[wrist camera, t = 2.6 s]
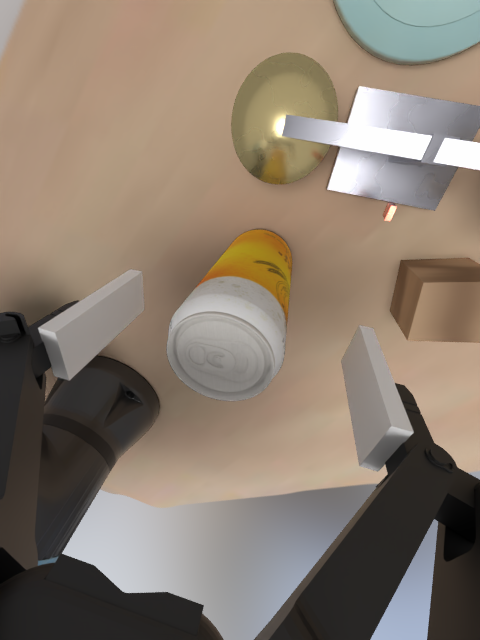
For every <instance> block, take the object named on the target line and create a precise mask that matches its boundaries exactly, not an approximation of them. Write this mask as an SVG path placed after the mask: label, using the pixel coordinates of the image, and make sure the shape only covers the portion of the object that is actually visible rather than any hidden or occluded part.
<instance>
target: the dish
mask: <svg viewBox="0 0 480 640" xmlns="http://www.w3.org/2000/svg"><path fill="white" fill-rule="evenodd" d="M333 1H334V4H335V8H336V10H337V12H338V15H339V17H340V19H341V21H342V23H343V25H344V26H345V28H346V29H347V31H348V32H349V34H350V35H351V37H352V38H353V39H354V40H355V41H356V42H357V43H358V44H359V45H360V46H361V47H362V48H363V49H365V50H366V51H367V52H369V53H370V54H371V55H373V56H375V57H377V58H380V59H382V60H384V61H387V62H391V63H395V64H403V65H418V64H427V63H431V62H435V61H439V60H443V59H446V58H448V57H451V56H453V55H456V54H458V53H460V52H462V51H464V50H466V49H468V48H470V47H472V46H474V45H476V44H477V43H479V42H480V0H333Z"/></svg>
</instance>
